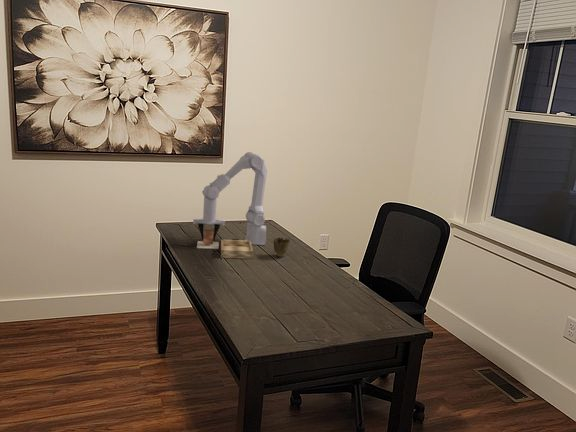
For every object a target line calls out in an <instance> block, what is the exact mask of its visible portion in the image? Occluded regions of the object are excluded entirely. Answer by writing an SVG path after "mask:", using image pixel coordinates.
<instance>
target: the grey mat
mask: <svg viewBox="0 0 576 432" xmlns="http://www.w3.org/2000/svg"><path fill="white" fill-rule="evenodd" d="M219 244H220V242H219V241H213V244H203V240H202V241H201V240H200V241H199V240H197V244H196V248H197V249H203V250H204V249H207V250H208V249H210V250H220V249H219V248H220V247H219V246H220V245H219Z"/></svg>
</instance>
